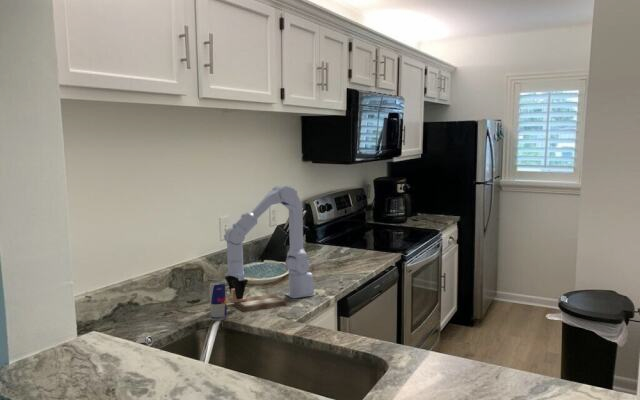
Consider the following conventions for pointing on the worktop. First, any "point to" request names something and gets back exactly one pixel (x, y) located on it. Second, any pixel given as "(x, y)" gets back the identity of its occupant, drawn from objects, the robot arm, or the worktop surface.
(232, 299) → the peach plate with block
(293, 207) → the robot arm
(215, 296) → the energy drink
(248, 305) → the board
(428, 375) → the worktop surface
